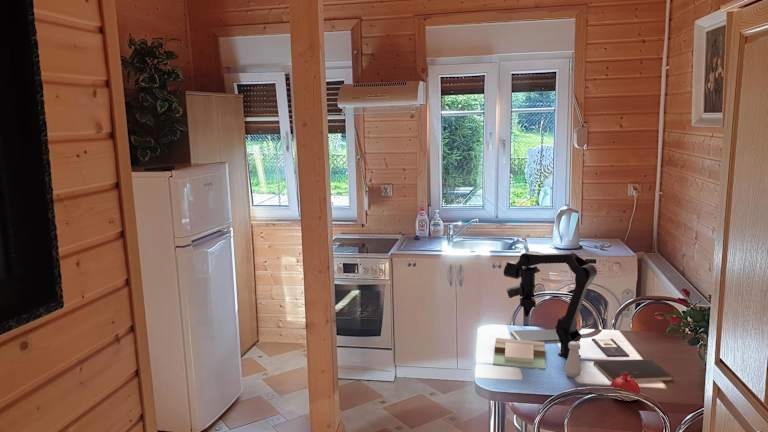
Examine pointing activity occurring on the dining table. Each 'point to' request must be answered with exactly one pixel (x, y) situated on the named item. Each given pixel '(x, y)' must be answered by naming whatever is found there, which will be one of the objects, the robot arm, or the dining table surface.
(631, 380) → the pomegranate
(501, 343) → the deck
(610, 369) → the hardcover book
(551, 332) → the smartphone
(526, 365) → the mat
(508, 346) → the pale pink slab
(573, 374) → the salt shaker
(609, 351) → the chocolate bar
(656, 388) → the dining table surface
